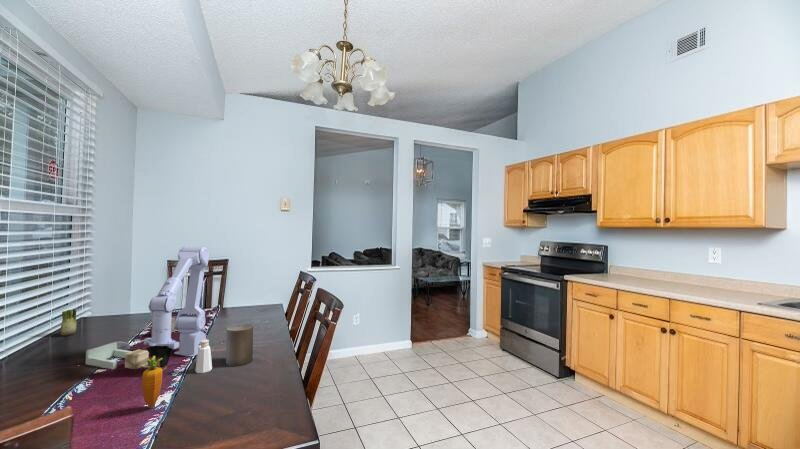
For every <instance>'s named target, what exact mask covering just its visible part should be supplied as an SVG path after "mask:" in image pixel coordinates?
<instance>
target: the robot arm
mask: <svg viewBox="0 0 800 449" xmlns="http://www.w3.org/2000/svg"><path fill="white" fill-rule="evenodd" d="M177 260H178V261H177V264H176V266H175V268H174V270H173V273H172V275H171V277H169V278H167V279H166V280H165V281H164V283H163V284H162V286H161V289H160V290H159V292H158V293H157V295H155V296H154V297H152V298H151V299H150V301H149V304H148V310H149V312H150V317H151V318H152V320H151V334H152V336H151V337H146V338H144V339H143V345H148V347H146V351H148V352H149V355H150V357H151V358H152V357H153V356H155V358H158V357H159V358H163V359H162V360H161V361H160V367H165V366H167V367H168V364H169V361H170V358H171V355H172V353H173V351H174V350H175V349H179V350H178V351H175V352H174V353H173V354H174V355H180V356H184V357H185V356H186V357H195V356H197V355H198V349H199V348H200V346H201V345H200V344H201V343H200V341H201V340H205V339H207V335H206V333H205V332H203V331H202V330H203V328H204V327H205V325H206V311H205V310H204V309H202V308H201V307H200V304H201V303H200V302H201V297H202V290H203V283H204V278H205V276H204V275H205V270H206V268H207V267H209V264H208V263H209V260H210V251H209V249H208V248H207V247H206V246H202V247H201V246H198V247H197V246H182V247H180V249H179V250H178V252H177ZM189 269H190V273H189V279H188V284H187V285H188V286H187V294H186V298H185V305H184V307H183V308H182V309H181V310H179V311H178V312H177V315H176V316H177V318H176V320H175V328H176V329H177V330H178V333H179V341H176V340H175V339H173V338H172V333H171V317H173V316H172V315H173V314H172V313H173V312H172V311H173V310H174V309H175V308H176V305H177V299H178V297H177V296H178V294H179V292H180V290H181V288H182V286H183V282H182V280H183V278H185V277H184V276H185V275H186V274H187V273H188V271H189Z"/></svg>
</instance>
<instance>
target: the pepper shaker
mask: <svg viewBox="0 0 800 449" xmlns="http://www.w3.org/2000/svg"><path fill="white" fill-rule="evenodd" d="M209 342H210V340H209V339H207V338H206V339H205V340H201V341H200V343H201V344H200V345H201V346H200V348H199V349H198V354H197V355H196V364H195V371H194V372H195V373H197V374H204V373H205V374H206V373H209V372H211V370H212V369H213V363H212V353H211V351H212V350H211V346H210V345H209Z"/></svg>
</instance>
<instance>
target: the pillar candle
mask: <svg viewBox="0 0 800 449" xmlns="http://www.w3.org/2000/svg"><path fill="white" fill-rule="evenodd" d="M225 343H226V344H225V346H226V347H225V348H226V349H225V350H226V351H225V365H227V366H231V367H238V366H243V365H244V366H245V365H247V364H250V363H252V362H253V360H254V358H253V355H254V325H253V324H252V323H241V322H240V323H235V324H232V325H230V326H227V327H226V342H225Z"/></svg>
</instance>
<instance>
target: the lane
mask: <svg viewBox="0 0 800 449" xmlns="http://www.w3.org/2000/svg"><path fill="white" fill-rule="evenodd" d="M114 342H115V343H112V342H110V343H111V344H108V343H107V344H108V345H105V344H103V345H104V346H102V345H100V346H101V347H100V346H97V347H98V348H94V347H93V348H94V349H91V348H90V349H91V350H87V349H86V350H85V365H88V366H92V367H99V368H104V369H108V370H115V369H117V367H118V365H117V364H118V363H117V361H116V360H111V359H109V358H113V357H116V358H117V357H118V358H120V359H121V358H122V359H125V354H127V353H130V352H133V351H134V350H133V351H131V350H121V349H117V343H116V342H117V341H114Z"/></svg>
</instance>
